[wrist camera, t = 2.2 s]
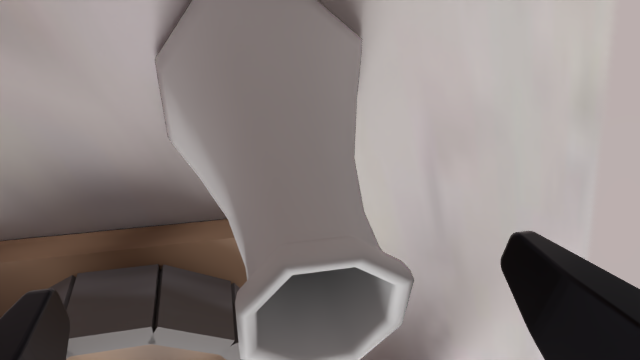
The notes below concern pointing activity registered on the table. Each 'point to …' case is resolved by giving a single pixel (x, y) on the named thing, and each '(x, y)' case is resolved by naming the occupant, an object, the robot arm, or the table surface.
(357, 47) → the flask
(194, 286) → the collar stand
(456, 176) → the table surface
